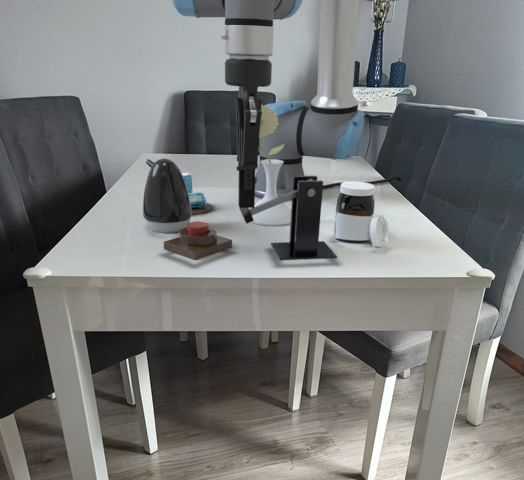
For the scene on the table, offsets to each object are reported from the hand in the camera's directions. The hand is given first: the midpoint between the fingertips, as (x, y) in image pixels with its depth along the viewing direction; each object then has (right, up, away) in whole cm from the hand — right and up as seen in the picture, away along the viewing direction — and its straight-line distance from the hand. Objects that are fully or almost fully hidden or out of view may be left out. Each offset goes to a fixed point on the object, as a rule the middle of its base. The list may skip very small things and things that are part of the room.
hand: (246, 206), depth 95 cm
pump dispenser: (-17, -1, +18) cm, 25 cm away
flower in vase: (+4, +3, +25) cm, 26 cm away
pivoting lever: (+6, 0, +1) cm, 6 cm away
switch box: (-10, -7, +7) cm, 14 cm away
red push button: (-9, -4, +5) cm, 11 cm away
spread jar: (+23, -4, +15) cm, 28 cm away
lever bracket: (+11, -8, +7) cm, 15 cm away
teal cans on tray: (-16, +9, +35) cm, 39 cm away
